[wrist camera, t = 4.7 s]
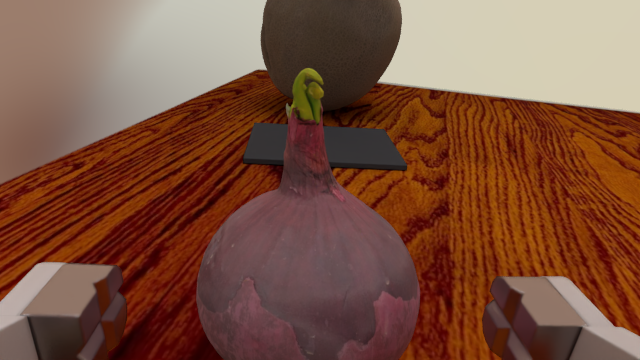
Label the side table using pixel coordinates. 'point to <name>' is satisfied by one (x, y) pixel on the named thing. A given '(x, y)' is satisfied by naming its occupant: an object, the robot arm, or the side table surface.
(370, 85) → the coconut
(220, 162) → the side table surface
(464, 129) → the side table surface
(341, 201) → the vegetable
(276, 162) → the mat
